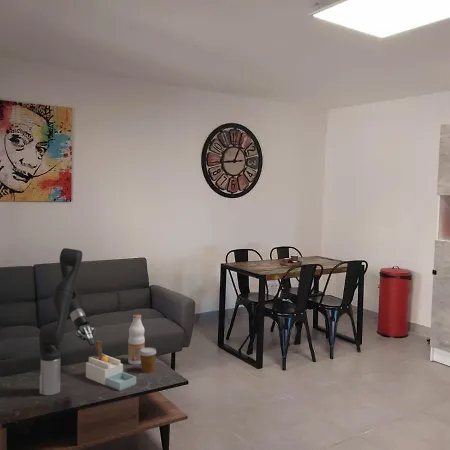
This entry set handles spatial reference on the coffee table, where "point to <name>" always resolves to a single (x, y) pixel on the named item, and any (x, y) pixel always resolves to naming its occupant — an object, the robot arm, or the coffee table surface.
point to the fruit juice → (136, 340)
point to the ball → (104, 359)
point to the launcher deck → (102, 369)
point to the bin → (121, 381)
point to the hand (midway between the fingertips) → (92, 344)
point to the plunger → (98, 350)
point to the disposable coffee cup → (147, 359)
